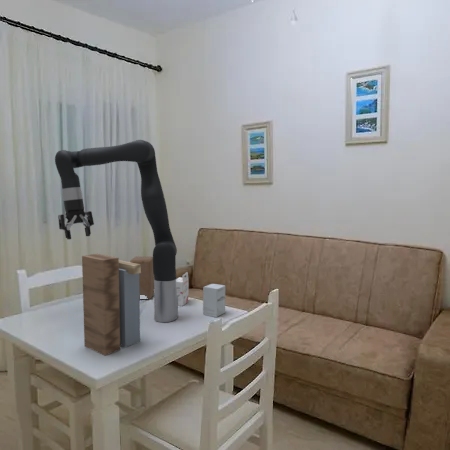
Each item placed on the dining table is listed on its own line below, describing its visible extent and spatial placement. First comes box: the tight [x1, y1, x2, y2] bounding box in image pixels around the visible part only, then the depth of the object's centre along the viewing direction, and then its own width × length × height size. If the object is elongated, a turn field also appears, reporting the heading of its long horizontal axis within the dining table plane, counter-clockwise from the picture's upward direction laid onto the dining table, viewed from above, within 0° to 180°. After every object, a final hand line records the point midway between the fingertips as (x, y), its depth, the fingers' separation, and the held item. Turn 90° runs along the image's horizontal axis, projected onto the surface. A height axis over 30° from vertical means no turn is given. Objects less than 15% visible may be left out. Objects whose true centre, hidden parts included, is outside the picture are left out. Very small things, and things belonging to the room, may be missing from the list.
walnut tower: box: [81, 253, 121, 356], centre depth 131 cm, size 6×12×32 cm, turn 53°
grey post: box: [119, 269, 141, 348], centre depth 138 cm, size 6×12×27 cm, turn 53°
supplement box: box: [202, 283, 226, 318], centre depth 168 cm, size 7×7×13 cm
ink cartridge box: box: [176, 271, 189, 307], centre depth 183 cm, size 9×5×15 cm, turn 168°
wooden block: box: [129, 256, 154, 301], centre depth 192 cm, size 10×10×20 cm
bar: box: [119, 259, 141, 274], centre depth 138 cm, size 3×24×3 cm, turn 53°
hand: (78, 237), depth 160 cm, fingers open, 8 cm apart
